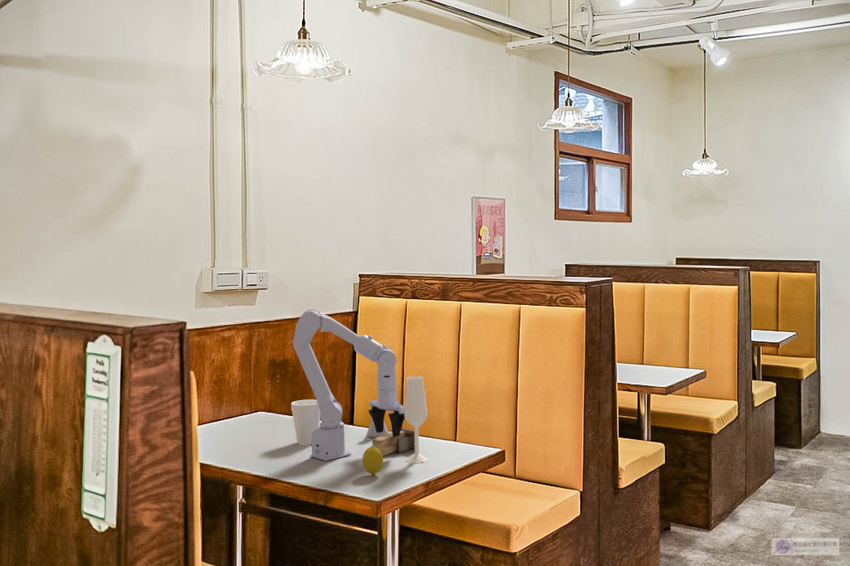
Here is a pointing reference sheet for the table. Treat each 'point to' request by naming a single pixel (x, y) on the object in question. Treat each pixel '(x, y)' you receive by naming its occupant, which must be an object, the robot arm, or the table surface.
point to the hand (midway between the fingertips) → (387, 434)
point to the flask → (373, 432)
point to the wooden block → (387, 442)
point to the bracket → (406, 441)
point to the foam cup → (305, 419)
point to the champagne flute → (415, 411)
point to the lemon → (372, 460)
